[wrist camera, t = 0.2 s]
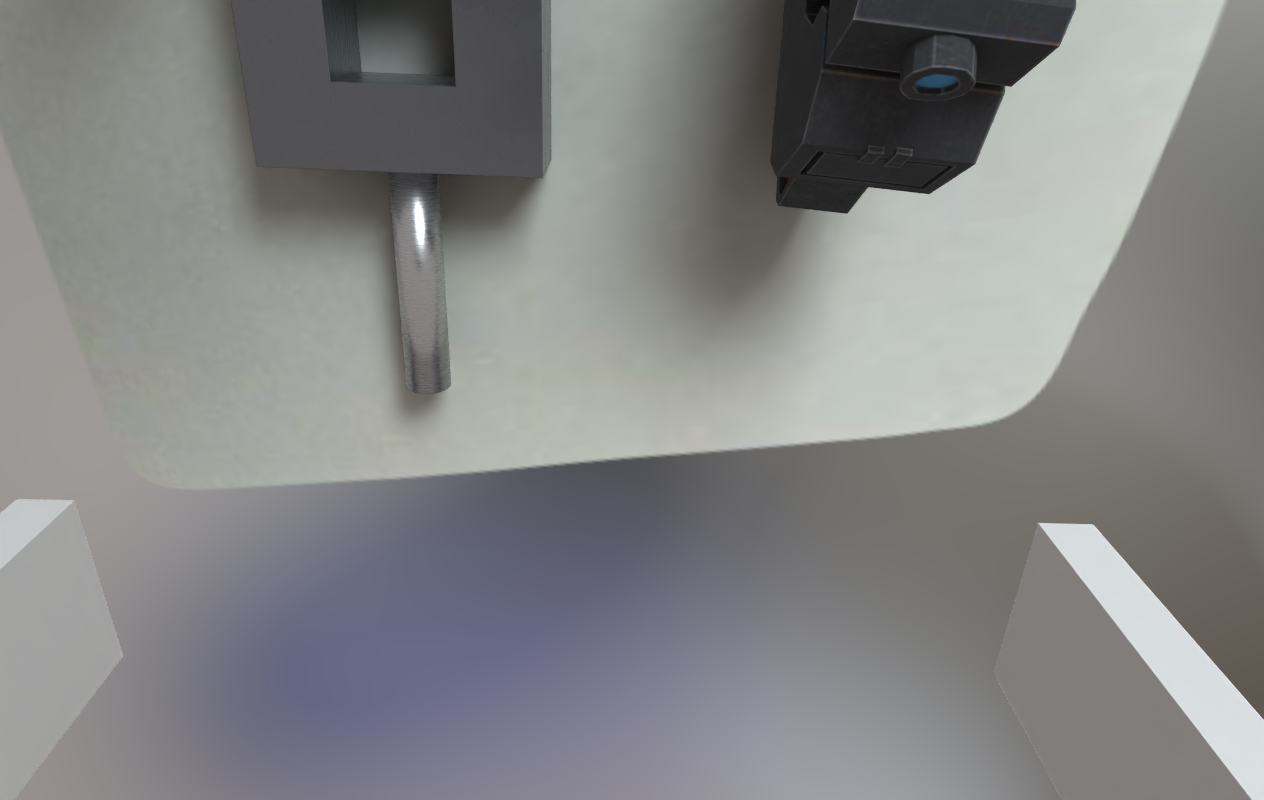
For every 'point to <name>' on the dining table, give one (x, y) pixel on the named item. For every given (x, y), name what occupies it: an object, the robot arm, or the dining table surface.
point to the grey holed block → (402, 127)
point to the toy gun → (896, 90)
